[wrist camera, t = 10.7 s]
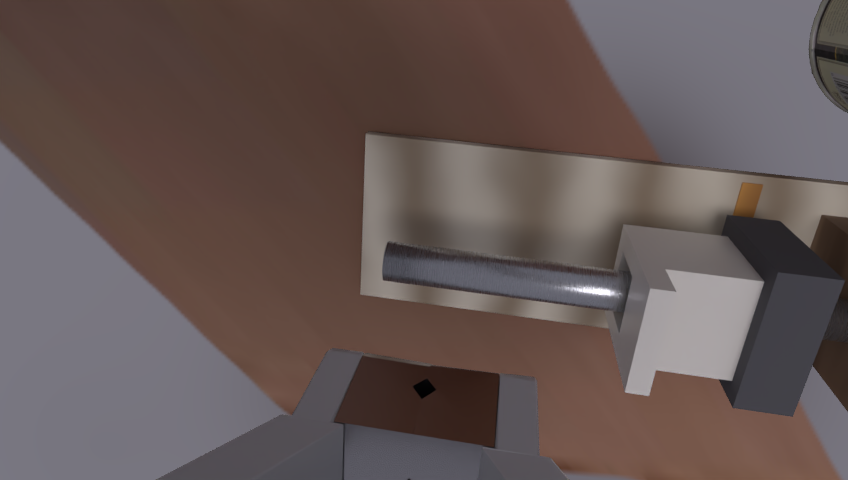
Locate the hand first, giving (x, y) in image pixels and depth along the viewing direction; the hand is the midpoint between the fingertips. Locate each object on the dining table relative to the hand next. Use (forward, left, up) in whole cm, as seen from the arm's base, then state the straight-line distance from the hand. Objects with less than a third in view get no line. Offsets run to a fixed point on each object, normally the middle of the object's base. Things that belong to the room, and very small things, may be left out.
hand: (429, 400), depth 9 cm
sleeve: (+11, -10, -28) cm, 32 cm away
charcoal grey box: (+16, -10, -29) cm, 35 cm away
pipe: (+8, -10, -26) cm, 29 cm away
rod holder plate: (+10, -10, -32) cm, 35 cm away
